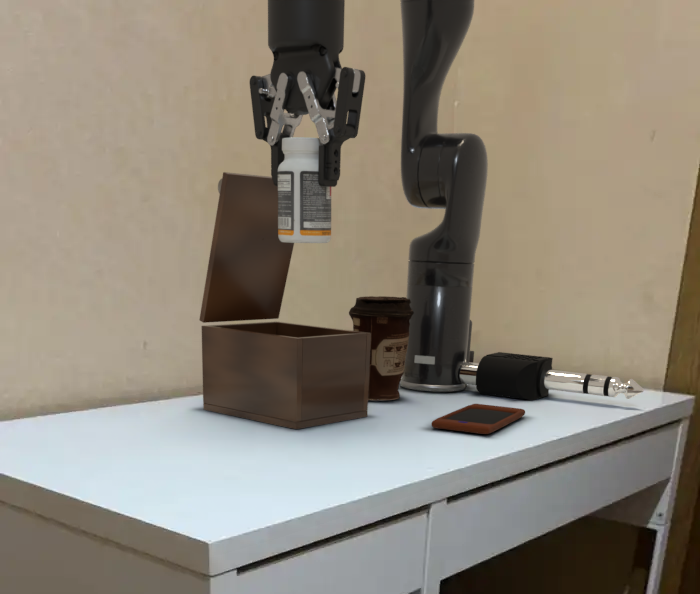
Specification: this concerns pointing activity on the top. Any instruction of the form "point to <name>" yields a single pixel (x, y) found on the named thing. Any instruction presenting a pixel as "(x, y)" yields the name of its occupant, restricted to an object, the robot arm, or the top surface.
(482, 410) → the smartphone
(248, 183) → the lid
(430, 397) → the top surface
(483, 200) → the robot arm
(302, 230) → the pill bottle
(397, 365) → the coffee cup
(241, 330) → the walnut box
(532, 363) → the audio adapter
